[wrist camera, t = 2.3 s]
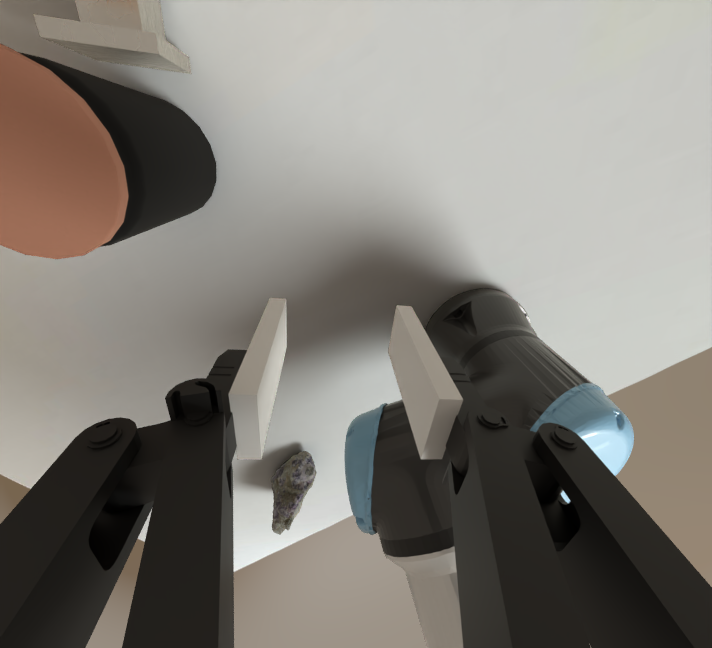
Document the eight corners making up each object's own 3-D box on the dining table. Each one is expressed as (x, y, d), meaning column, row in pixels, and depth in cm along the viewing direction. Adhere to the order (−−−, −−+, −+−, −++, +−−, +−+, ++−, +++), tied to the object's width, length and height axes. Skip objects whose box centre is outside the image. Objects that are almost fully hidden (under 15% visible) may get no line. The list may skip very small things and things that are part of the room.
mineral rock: (308, 440, 54) (304, 495, 46) (341, 470, 59) (343, 524, 50) (253, 469, 57) (239, 526, 48) (289, 495, 62) (283, 551, 53)
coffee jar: (88, 145, 31) (-164, 130, 15) (159, 71, 28) (-50, -35, 13) (174, 232, 35) (50, 291, 20) (241, 175, 33) (162, 191, 17)
